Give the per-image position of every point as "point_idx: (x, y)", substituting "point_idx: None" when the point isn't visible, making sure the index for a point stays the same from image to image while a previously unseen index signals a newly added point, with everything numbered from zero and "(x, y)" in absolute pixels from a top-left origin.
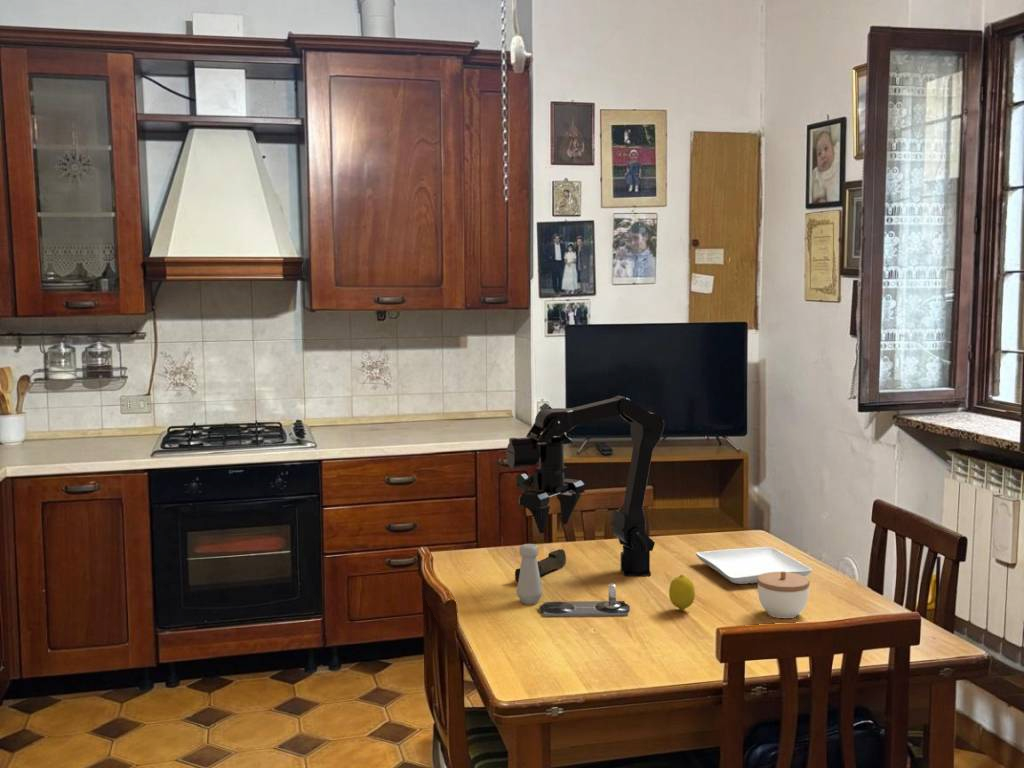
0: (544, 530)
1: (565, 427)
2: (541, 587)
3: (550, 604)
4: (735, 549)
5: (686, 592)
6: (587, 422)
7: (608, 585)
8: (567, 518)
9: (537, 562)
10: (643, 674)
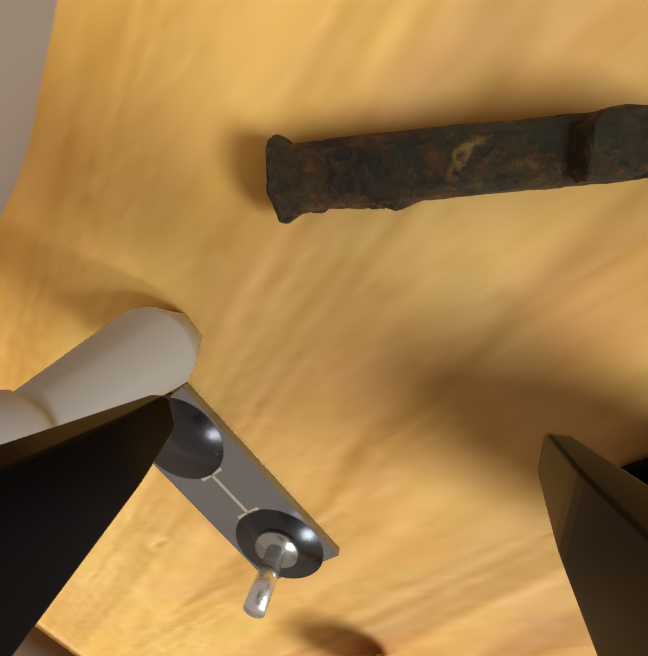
0: (152, 453)
1: None
2: (170, 390)
3: (182, 414)
4: None
5: None
6: None
7: (246, 601)
8: (562, 552)
9: (431, 152)
10: (96, 643)
